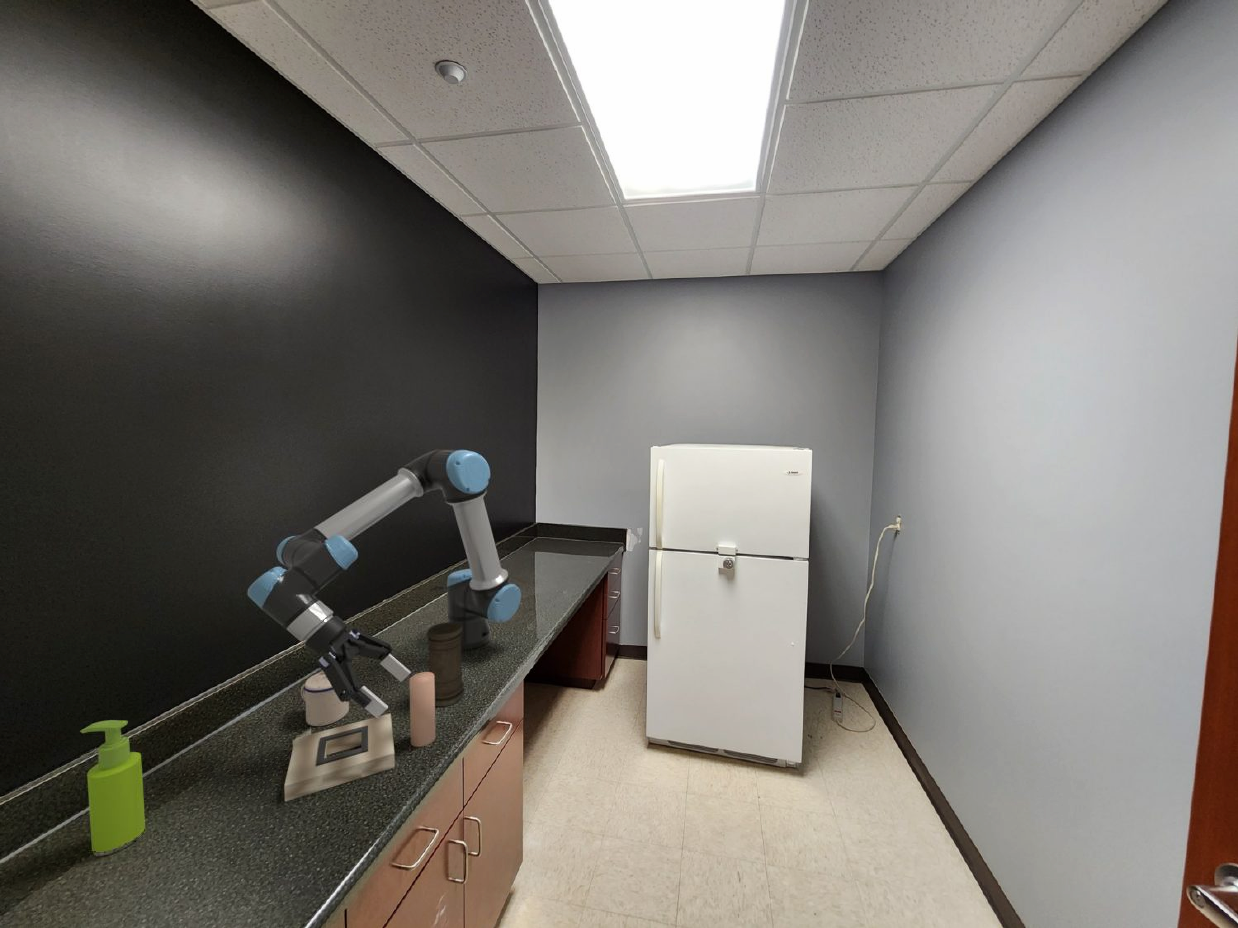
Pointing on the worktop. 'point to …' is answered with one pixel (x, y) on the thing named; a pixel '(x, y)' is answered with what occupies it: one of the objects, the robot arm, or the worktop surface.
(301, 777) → the band board
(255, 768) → the worktop surface
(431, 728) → the peg
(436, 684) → the container
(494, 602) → the robot arm
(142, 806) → the soap dispenser
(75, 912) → the worktop surface
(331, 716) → the teacup with lid
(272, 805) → the worktop surface
